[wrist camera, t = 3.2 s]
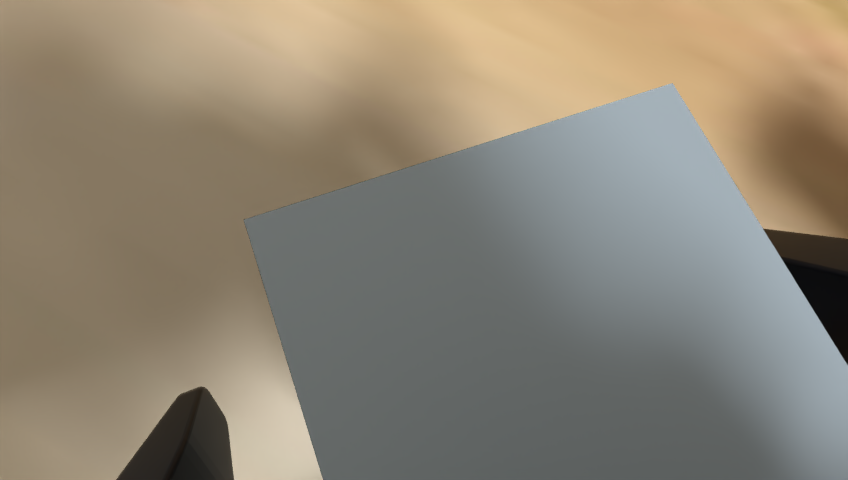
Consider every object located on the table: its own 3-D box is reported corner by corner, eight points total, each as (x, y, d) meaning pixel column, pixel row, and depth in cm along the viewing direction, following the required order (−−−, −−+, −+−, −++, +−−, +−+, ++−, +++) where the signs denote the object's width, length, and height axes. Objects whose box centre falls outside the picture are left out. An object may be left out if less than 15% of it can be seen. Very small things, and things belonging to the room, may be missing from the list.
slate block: (517, 419, 15) (951, 534, 4) (391, 477, 14) (440, 867, 3) (465, 296, 16) (673, 83, 5) (345, 342, 15) (243, 219, 4)
